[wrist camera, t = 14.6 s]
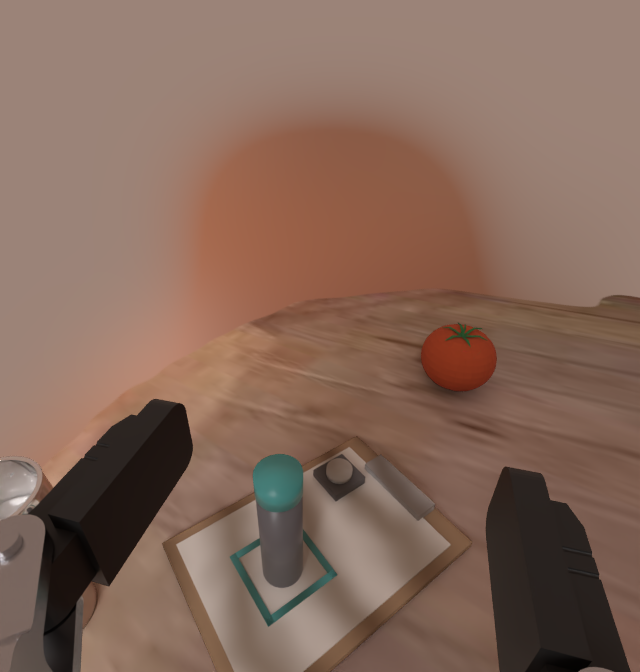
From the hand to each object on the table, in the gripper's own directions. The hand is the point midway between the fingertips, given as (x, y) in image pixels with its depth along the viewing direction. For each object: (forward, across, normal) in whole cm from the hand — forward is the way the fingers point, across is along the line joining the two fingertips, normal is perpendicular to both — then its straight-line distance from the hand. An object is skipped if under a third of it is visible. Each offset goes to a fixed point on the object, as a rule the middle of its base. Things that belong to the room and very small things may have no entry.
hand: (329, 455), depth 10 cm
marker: (+12, +6, +29) cm, 32 cm away
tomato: (+45, -9, +30) cm, 55 cm away
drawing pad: (+15, +4, +30) cm, 34 cm away
